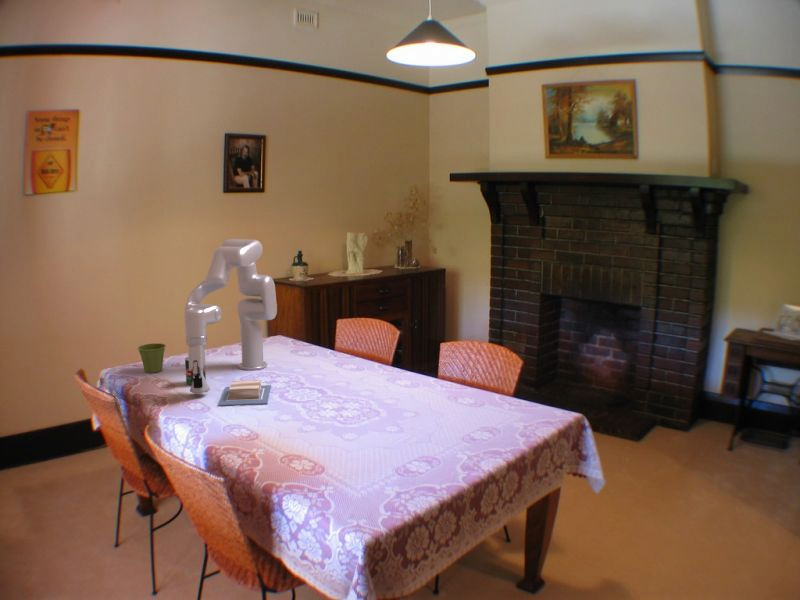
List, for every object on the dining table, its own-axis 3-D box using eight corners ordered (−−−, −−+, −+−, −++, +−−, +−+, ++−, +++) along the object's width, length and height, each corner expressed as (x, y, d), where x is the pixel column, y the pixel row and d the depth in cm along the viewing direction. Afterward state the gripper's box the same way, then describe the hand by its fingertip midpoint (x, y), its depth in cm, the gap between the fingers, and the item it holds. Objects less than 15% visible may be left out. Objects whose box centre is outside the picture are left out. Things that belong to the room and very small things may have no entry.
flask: (186, 392, 251) (184, 367, 249) (199, 386, 257) (198, 362, 255) (200, 395, 248) (198, 370, 246) (213, 389, 254) (212, 365, 252)
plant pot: (140, 368, 290) (138, 344, 288) (168, 366, 293) (166, 342, 291) (137, 376, 279) (136, 350, 277) (166, 373, 282) (165, 348, 280)
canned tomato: (182, 385, 266) (180, 359, 264) (194, 380, 273) (192, 354, 271) (198, 387, 263) (197, 361, 262) (210, 381, 271) (208, 356, 269)
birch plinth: (232, 390, 257) (232, 381, 257) (261, 389, 259) (260, 380, 258) (229, 399, 246) (229, 389, 246) (258, 398, 248) (258, 388, 247)
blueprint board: (225, 388, 262) (225, 386, 262) (270, 386, 265) (270, 384, 264) (218, 406, 241) (217, 404, 241) (267, 404, 243) (267, 402, 243)
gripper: (190, 335, 256) (193, 378, 260) (182, 346, 240) (185, 393, 243) (210, 334, 257) (212, 378, 261) (202, 345, 241) (205, 392, 244)
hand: (199, 384), depth 252 cm, fingers closed on flask, 5 cm apart
